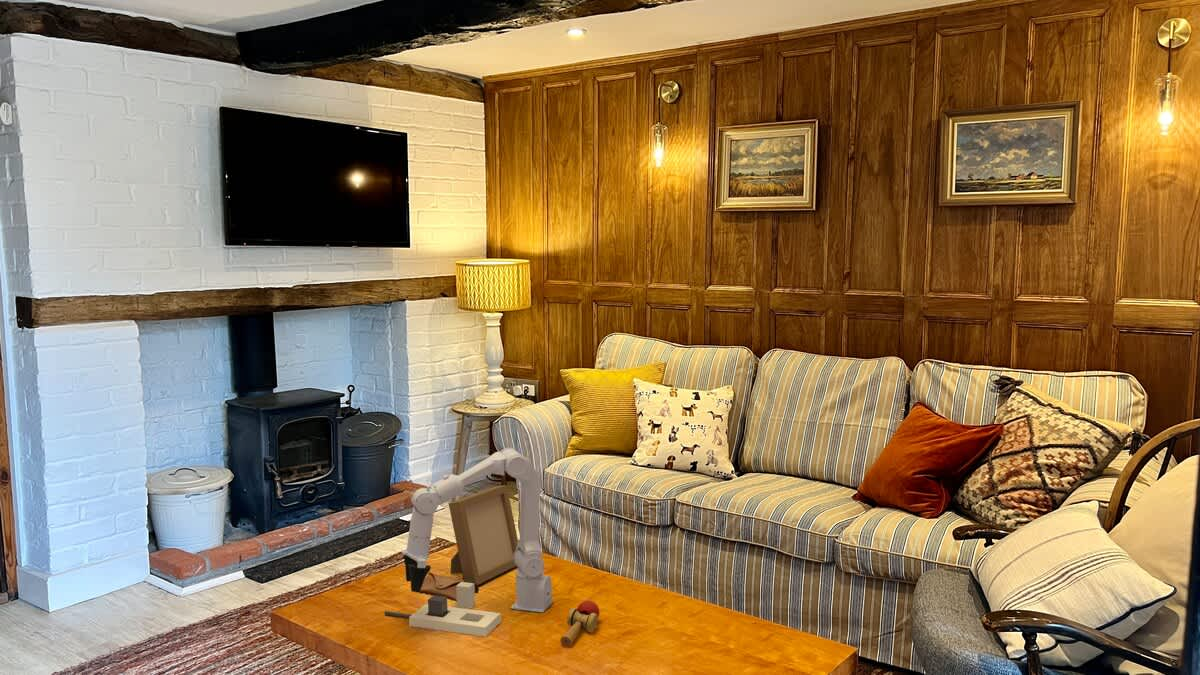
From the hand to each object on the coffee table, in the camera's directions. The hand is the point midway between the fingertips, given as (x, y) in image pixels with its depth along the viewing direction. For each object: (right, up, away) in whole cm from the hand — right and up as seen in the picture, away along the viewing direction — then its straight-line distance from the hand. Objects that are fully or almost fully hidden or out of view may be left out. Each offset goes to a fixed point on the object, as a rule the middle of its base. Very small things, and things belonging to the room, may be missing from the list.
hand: (412, 586), depth 230 cm
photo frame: (+13, -7, +38) cm, 41 cm away
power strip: (+6, -10, +3) cm, 12 cm away
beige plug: (+12, -9, +13) cm, 20 cm away
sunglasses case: (+5, -9, +23) cm, 25 cm away
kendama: (+44, -11, -5) cm, 45 cm away
